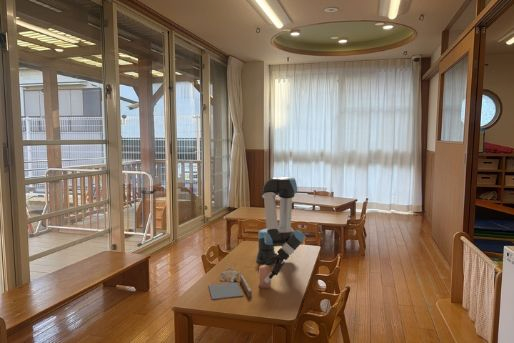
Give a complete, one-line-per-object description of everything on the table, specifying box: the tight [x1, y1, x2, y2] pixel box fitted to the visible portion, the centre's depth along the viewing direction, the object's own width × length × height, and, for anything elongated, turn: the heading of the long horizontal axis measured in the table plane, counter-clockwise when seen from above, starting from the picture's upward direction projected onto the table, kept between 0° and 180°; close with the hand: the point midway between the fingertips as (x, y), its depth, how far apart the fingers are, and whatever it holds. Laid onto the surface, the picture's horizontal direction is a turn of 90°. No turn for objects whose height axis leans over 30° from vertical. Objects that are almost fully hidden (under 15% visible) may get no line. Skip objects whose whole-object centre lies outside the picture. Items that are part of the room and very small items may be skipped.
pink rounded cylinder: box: [258, 264, 272, 289], centre depth 225 cm, size 7×7×12 cm
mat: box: [208, 281, 244, 301], centre depth 219 cm, size 20×18×1 cm
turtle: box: [219, 266, 243, 283], centre depth 237 cm, size 16×10×10 cm, turn 76°
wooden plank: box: [239, 274, 253, 299], centre depth 222 cm, size 26×2×4 cm, turn 13°
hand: (262, 277), depth 225 cm, fingers open, 13 cm apart
